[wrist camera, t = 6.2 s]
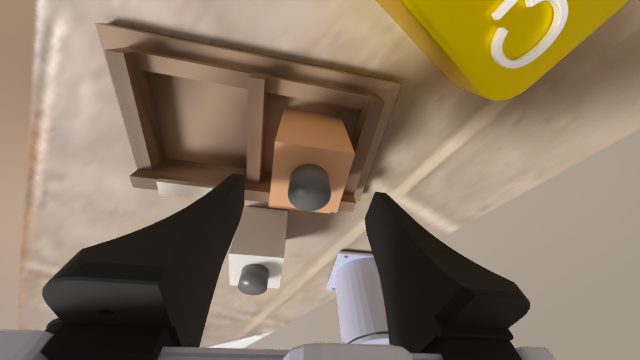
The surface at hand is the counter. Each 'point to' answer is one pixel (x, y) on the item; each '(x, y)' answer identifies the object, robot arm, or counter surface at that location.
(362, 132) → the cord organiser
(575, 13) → the element tile
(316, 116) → the orange plug
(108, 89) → the counter surface
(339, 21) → the counter surface
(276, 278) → the grey plug
